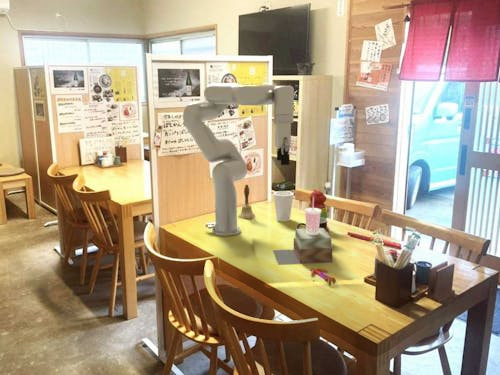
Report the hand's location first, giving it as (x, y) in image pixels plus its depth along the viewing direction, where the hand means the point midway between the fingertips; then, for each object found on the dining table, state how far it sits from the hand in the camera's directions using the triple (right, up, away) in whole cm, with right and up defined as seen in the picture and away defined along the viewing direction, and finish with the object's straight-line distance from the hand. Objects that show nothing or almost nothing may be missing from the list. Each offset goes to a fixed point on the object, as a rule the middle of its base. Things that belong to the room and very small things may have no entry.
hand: (282, 162), depth 177 cm
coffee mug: (+13, -33, +10) cm, 37 cm away
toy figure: (+11, -41, -23) cm, 49 cm away
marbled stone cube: (+11, -36, -7) cm, 38 cm away
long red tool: (+38, -33, +11) cm, 52 cm away
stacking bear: (+17, -29, +27) cm, 43 cm away
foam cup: (+3, -26, +41) cm, 48 cm away
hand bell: (-15, -24, +46) cm, 54 cm away
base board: (+7, -37, -7) cm, 38 cm away
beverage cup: (+10, -27, -9) cm, 30 cm away
